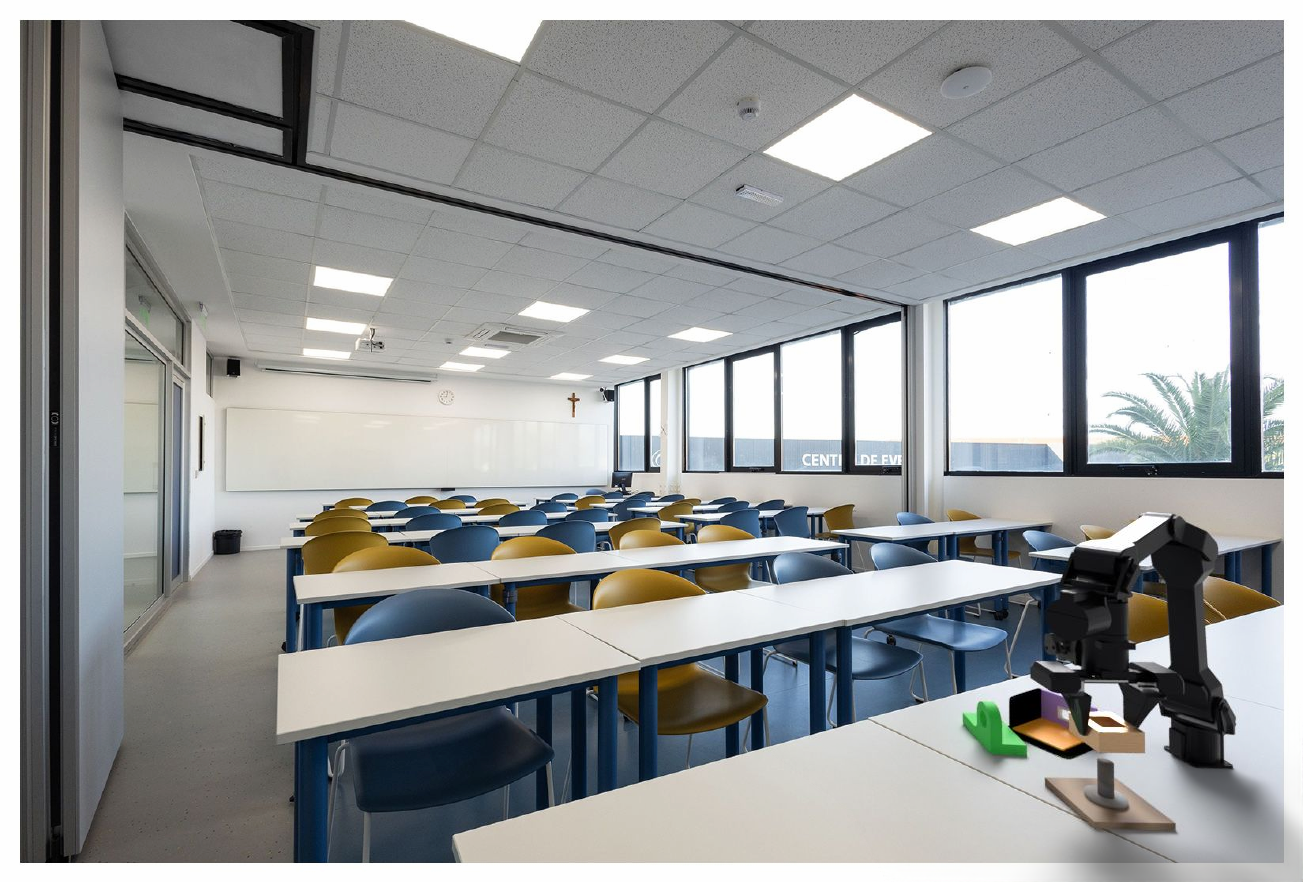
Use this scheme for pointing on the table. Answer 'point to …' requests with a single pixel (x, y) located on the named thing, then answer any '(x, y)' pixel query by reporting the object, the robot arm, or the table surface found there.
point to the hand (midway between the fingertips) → (1105, 734)
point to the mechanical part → (993, 730)
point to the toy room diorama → (1045, 723)
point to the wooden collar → (1110, 734)
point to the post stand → (1108, 801)
